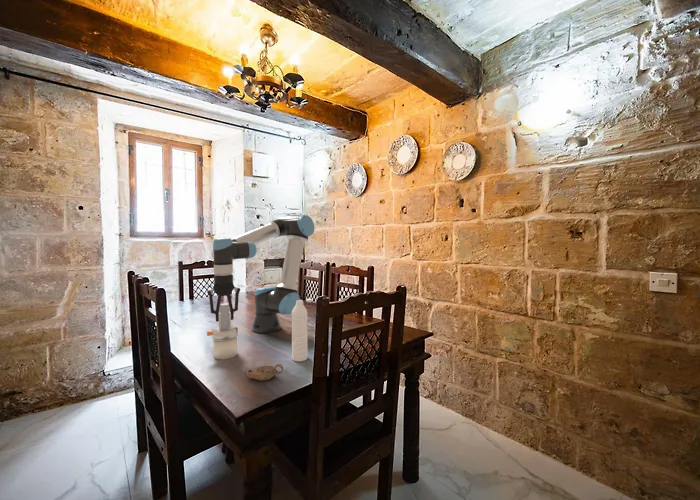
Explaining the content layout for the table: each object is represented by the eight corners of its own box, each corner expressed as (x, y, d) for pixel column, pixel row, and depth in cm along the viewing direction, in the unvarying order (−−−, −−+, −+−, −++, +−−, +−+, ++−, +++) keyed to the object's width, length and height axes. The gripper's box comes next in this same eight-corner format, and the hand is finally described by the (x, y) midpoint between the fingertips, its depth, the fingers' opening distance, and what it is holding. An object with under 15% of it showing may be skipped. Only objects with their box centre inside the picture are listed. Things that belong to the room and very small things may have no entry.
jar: (238, 349, 139) (237, 332, 139) (236, 358, 130) (235, 339, 130) (215, 351, 137) (215, 334, 136) (211, 360, 128) (211, 341, 127)
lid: (237, 331, 140) (236, 300, 139) (238, 338, 130) (237, 305, 129) (207, 334, 135) (207, 303, 134) (206, 342, 126) (205, 308, 125)
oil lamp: (243, 382, 109) (243, 369, 109) (250, 373, 117) (250, 360, 116) (280, 383, 109) (280, 369, 109) (285, 373, 116) (285, 360, 116)
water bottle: (294, 363, 125) (294, 302, 124) (290, 357, 131) (289, 299, 130) (314, 359, 129) (314, 300, 128) (309, 353, 135) (309, 297, 134)
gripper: (242, 272, 138) (244, 323, 140) (202, 274, 131) (204, 327, 133) (244, 274, 132) (245, 327, 133) (202, 276, 125) (203, 333, 126)
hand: (224, 327), depth 133 cm, fingers closed on lid, 3 cm apart
